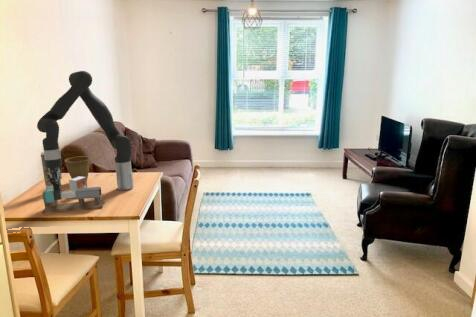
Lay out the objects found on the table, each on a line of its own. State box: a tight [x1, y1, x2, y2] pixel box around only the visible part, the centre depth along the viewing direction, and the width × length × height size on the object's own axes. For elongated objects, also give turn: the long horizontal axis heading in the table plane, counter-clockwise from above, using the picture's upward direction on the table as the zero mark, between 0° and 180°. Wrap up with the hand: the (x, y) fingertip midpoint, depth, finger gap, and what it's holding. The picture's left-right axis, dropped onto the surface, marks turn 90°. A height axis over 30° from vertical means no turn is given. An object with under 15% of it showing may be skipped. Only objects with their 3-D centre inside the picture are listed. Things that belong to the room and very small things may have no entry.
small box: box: [68, 176, 88, 191], centre depth 206 cm, size 8×6×10 cm
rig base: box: [42, 197, 106, 214], centre depth 188 cm, size 29×10×6 cm, turn 100°
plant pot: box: [64, 155, 91, 181], centre depth 230 cm, size 15×15×16 cm
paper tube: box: [40, 151, 53, 190], centre depth 209 cm, size 7×7×25 cm
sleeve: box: [75, 186, 102, 200], centre depth 188 cm, size 12×5×5 cm, turn 100°
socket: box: [42, 188, 56, 204], centre depth 185 cm, size 5×6×6 cm
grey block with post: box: [53, 180, 76, 201], centre depth 185 cm, size 19×4×10 cm, turn 100°
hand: (57, 189), depth 185 cm, fingers closed on grey block with post, 3 cm apart
